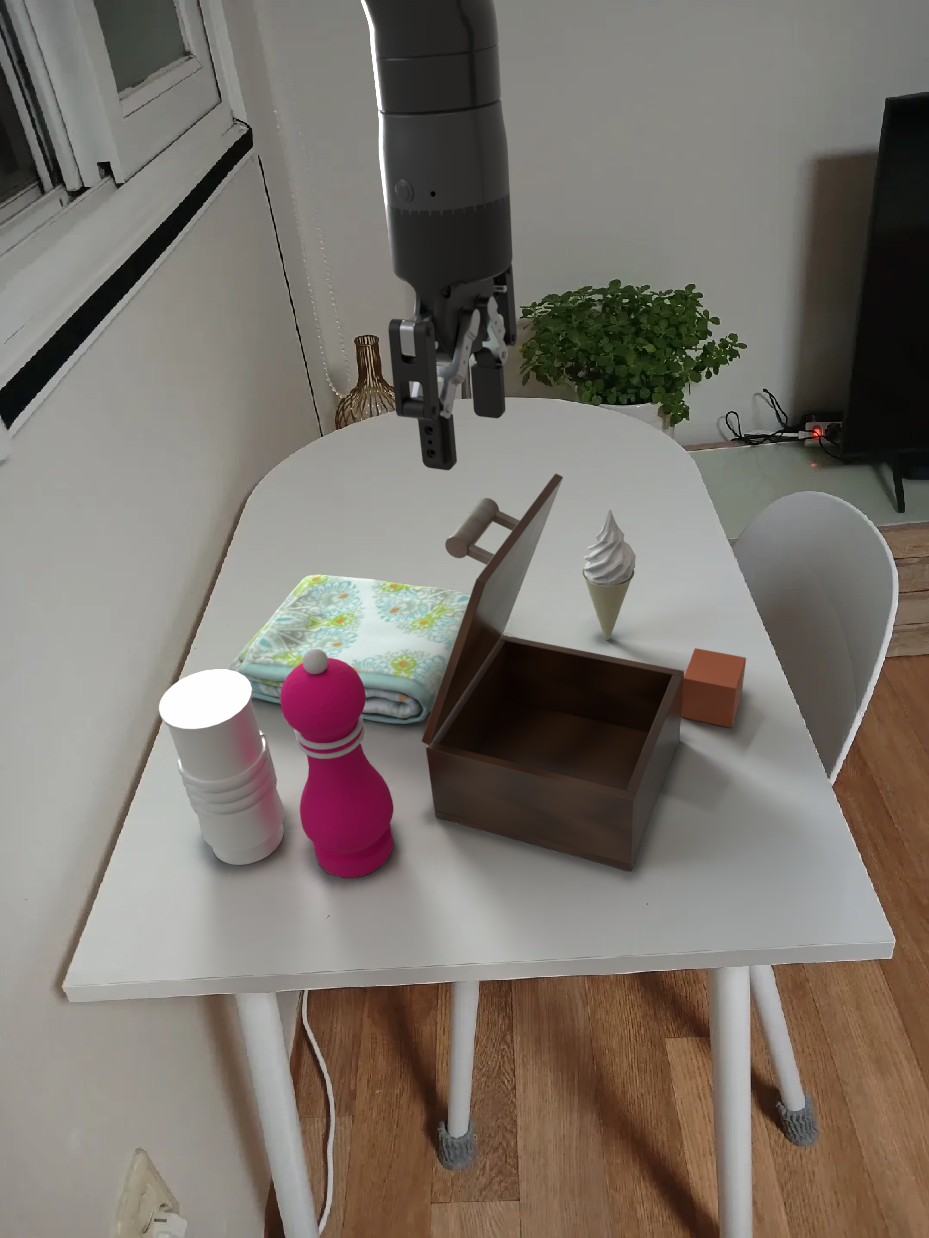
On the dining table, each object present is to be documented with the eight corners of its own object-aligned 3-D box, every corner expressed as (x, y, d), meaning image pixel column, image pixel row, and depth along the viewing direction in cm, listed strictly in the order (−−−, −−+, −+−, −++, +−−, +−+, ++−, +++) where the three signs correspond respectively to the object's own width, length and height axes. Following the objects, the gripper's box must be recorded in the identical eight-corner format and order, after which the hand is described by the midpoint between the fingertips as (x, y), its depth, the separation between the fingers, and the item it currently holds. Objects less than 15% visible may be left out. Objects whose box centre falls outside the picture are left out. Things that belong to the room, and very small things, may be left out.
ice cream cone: (620, 659, 94) (623, 527, 85) (573, 645, 96) (572, 515, 87) (640, 631, 97) (645, 502, 88) (595, 619, 100) (595, 491, 91)
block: (741, 696, 88) (746, 657, 85) (731, 728, 85) (736, 688, 82) (691, 686, 90) (694, 647, 87) (680, 717, 86) (683, 677, 84)
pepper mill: (411, 821, 79) (380, 625, 67) (381, 891, 73) (342, 691, 61) (330, 807, 81) (287, 615, 69) (295, 874, 75) (241, 678, 63)
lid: (563, 476, 74) (509, 451, 74) (485, 583, 62) (422, 552, 63) (503, 632, 85) (457, 609, 86) (428, 746, 74) (376, 718, 75)
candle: (306, 833, 78) (271, 694, 70) (235, 883, 75) (188, 743, 66) (260, 792, 83) (221, 656, 74) (190, 838, 79) (140, 700, 70)
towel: (314, 597, 107) (306, 559, 104) (493, 623, 100) (490, 583, 97) (229, 699, 93) (217, 658, 90) (430, 738, 87) (425, 695, 84)
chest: (679, 739, 84) (684, 670, 79) (630, 871, 73) (633, 800, 68) (505, 700, 90) (500, 634, 86) (434, 816, 79) (425, 747, 74)
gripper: (454, 221, 50) (475, 494, 60) (546, 165, 60) (552, 405, 70) (331, 218, 53) (370, 479, 62) (440, 164, 63) (459, 395, 73)
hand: (466, 439), depth 66 cm, fingers open, 8 cm apart
